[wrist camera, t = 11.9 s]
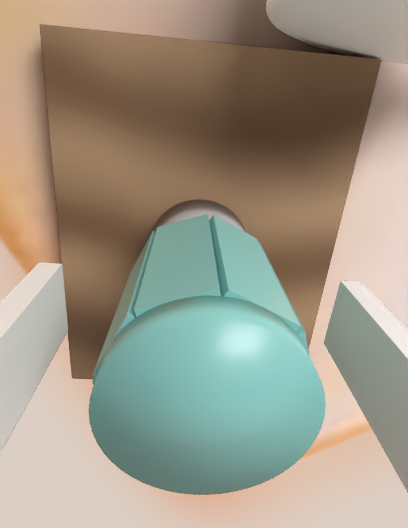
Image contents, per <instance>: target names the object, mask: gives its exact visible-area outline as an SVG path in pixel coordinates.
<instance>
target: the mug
mask: <svg viewBox="0 0 408 528" xmlns="http://www.w3.org/2000/svg"><path fill="white" fill-rule="evenodd" d="M266 12H267V15H268V18H269V19H270V21H271V22H272V23H273V25H274V26H276V27H277V28H278V29H279V30H281V31H282V32H284V33H285V34H287V35H289V36H291V37H293V38H295V39H297V40H299V41H302V42H304V43H307V44H310V45H312V46H315V47H319V48H322V49H325V50H329V51H333V52H337V53H341V54H345V55H350V56H355V57H362V58H372V59H381V61H387V62H396V63H408V0H267V3H266Z"/></svg>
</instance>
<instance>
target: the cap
mask: <svg viewBox="0 0 408 528" xmlns="http://www.w3.org/2000/svg"><path fill="white" fill-rule="evenodd" d="M93 376H94V379H93V384H94V387H93V390H92V394H91V397H90V404H89V418H90V425H91V428H92V432H93V435H94V437H95V439H96V441H97V443H98V445H99V446H100V448H101V449H102V451H103V452H104V454H105V455H106V456H107V457H108V458H109V459H110V460H111V461H112V462H113V463H114V464H115V465H116V466H117V467H118V468H120V469H121V470H122V471H124V472H125V473H127V474H128V475H130V476H131V477H133V478H135V479H137V480H139V481H141V482H143V483H145V484H148V485H151V486H153V487H156V488H159V489H163V490H167V491H171V492H177V493H184V494H194V495H195V494H197V495H209V494H222V493H228V492H234V491H238V490H242V489H246V488H250V487H253V486H255V485H258V484H261V483H263V482H265V481H268V480H270V479H272V478H274V477H275V476H277V475H279V474H281V473H282V472H284V471H285V470H287V469H288V468H289V467H291V466H292V465H293V464H295V463H296V462H297V461H298V460H299V459H300V458H301V457H302V456H303V455H304V454H305V453H306V452H307V450H308V449H309V448H310V447H311V445H312V444H313V442H314V441H315V439H316V438H317V435H318V433H319V431H320V429H321V426H322V423H323V419H324V415H325V393H324V389H323V385H322V382H321V380H320V377H319V375H318V373H317V371H316V369H315V367H314V365H313V362H312V360H311V358H310V356H309V351H308V345H307V340H306V334H305V331H304V329H303V327H302V325H301V323H300V321H299V319H298V317H297V315H296V313H295V311H294V309H293V307H292V305H291V303H290V301H289V299H288V297H287V295H286V293H285V291H284V289H283V287H282V285H281V283H280V281H279V279H278V277H277V275H276V273H275V271H274V269H273V267H272V265H271V263H270V261H269V259H268V257H267V255H266V253H265V251H264V249H263V248H262V246H261V244H260V243H259V242H258V240H257V238H255V237H253V236H251V235H249V234H248V233H246V232H244V231H242V230H241V229H239V228H237V227H235V226H233V225H232V224H230V223H228V222H226V221H224V220H223V219H221V218H219V217H217V216H215V215H214V214H213V216H212V217H211V219H210V221H209V217H208V214H205V215H201V216H197V217H194V218H190V219H186V220H182V221H179V222H175V223H171V224H167V225H164V226H160V227H157V230H156V232H155V231H153V232H152V233H151V235H150V237H149V239H148V241H147V243H146V244H145V246H144V248H143V250H142V252H141V254H140V255H139V257H138V259H137V261H136V263H135V265H134V266H133V268H132V270H131V272H130V275H129V278H128V280H127V283H126V286H125V288H124V291H123V294H122V297H121V299H120V302H119V305H118V307H117V310H116V313H115V316H114V318H113V321H112V324H111V326H110V329H109V332H108V334H107V337H106V340H105V343H104V345H103V348H102V351H101V353H100V356H99V359H98V362H97V364H96V367H95V370H94V372H93Z"/></svg>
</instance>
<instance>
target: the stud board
mask: <svg viewBox="0 0 408 528" xmlns="http://www.w3.org/2000/svg"><path fill="white" fill-rule="evenodd" d="M40 34H41V45H42V56H43V67H44V78H45V89H46V99H47V110H48V121H49V132H50V143H51V154H52V165H53V176H54V187H55V198H56V209H57V220H58V230H59V241H60V252H61V263H62V267H63V278H64V289H65V300H66V311H67V322H68V340H69V350H70V361H71V372H72V378H75V379H94V376H93V372H94V370H95V367H96V364H97V362H98V359H99V356H100V353H101V351H102V348H103V345H104V343H105V340H106V337H107V334H108V332H109V329H110V326H111V324H112V321H113V318H114V316H115V313H116V310H117V307H118V305H119V302H120V299H121V297H122V294H123V291H124V288H125V286H126V283H127V280H128V278H129V275H130V272H131V270H132V268H133V266H134V265H135V263H136V261H137V259H138V257H139V255H140V254H141V252H142V250H143V248H144V246H145V244H146V243H147V241H148V239H149V237H150V235H151V233H152V232H153V231H155V232H156V230H157V227H160V226H164V225H167V224H171V223H175V222H179V221H182V220H186V219H190V218H194V217H197V216H201V215H205V214H208V217H209V221H210V219H211V217H212V216H213V214H214V215H215V216H217V217H219V218H221V219H223V220H224V221H226V222H228V223H230V224H232V225H233V226H235V227H237V228H239V229H241V230H242V231H244V232H246V233H248V234H249V235H251V236H253V237H255V238H257V240H258V242H259V243H260V244H261V246H262V248H263V249H264V251H265V253H266V255H267V257H268V259H269V261H270V263H271V265H272V267H273V269H274V271H275V273H276V275H277V277H278V279H279V281H280V283H281V285H282V287H283V289H284V291H285V293H286V295H287V297H288V299H289V301H290V303H291V305H292V307H293V309H294V311H295V313H296V315H297V317H298V319H299V321H300V323H301V325H302V327H303V329H304V331H305V334H306V340H307V345H308V349H309V345H310V341H311V337H312V333H313V329H314V325H315V321H316V317H317V313H318V309H319V305H320V301H321V297H322V293H323V289H324V285H325V281H326V277H327V273H328V269H329V265H330V261H331V257H332V253H333V249H334V245H335V241H336V237H337V233H338V229H339V225H340V222H341V218H342V214H343V210H344V206H345V202H346V198H347V194H348V190H349V186H350V182H351V178H352V174H353V170H354V166H355V162H356V158H357V154H358V150H359V146H360V142H361V138H362V134H363V130H364V126H365V122H366V118H367V114H368V110H369V106H370V102H371V98H372V94H373V90H374V86H375V83H376V79H377V75H378V71H379V67H380V63H381V59H372V58H362V57H352V56H342V55H333V54H323V53H313V52H304V51H294V50H284V49H275V48H265V47H255V46H245V45H236V44H226V43H216V42H207V41H197V40H187V39H177V38H168V37H158V36H148V35H139V34H129V33H119V32H110V31H100V30H90V29H80V28H71V27H61V26H51V25H42V24H40Z"/></svg>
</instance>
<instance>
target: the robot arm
mask: <svg viewBox="0 0 408 528" xmlns="http://www.w3.org/2000/svg"><path fill="white" fill-rule="evenodd" d="M67 332H68V322H67V311H66V300H65V289H64V278H63V267H62V264H57V263H41V262H39V263H38V264H37V265H36V266H35V267H34V268H33V269H32V270H31V271H30V273H29V274H28V275H27V276H26V277H25V278H24V279H23V280H22V281H21V282H20V283H19V284H18V285H17V286H16V287H15V288H14V289H13V290H12V291H11V292H10V293H9V294H8V295H7V296H6V297H5V298H4V299H3V300H2V301H1V302H0V453H1V451H2V450H3V448H4V446H5V444H6V442H7V440H8V439H9V437H10V435H11V433H12V431H13V430H14V428H15V426H16V424H17V422H18V421H19V419H20V417H21V415H22V413H23V411H24V410H25V408H26V406H27V404H28V402H29V400H30V399H31V397H32V395H33V393H34V392H35V390H36V388H37V386H38V384H39V382H40V380H41V379H42V377H43V375H44V373H45V372H46V370H47V368H48V366H49V364H50V363H51V361H52V359H53V357H54V355H55V353H56V352H57V350H58V348H59V346H60V344H61V343H62V341H63V339H64V337H65V335H66V334H67ZM324 344H325V346H326V348H327V349H328V351H329V353H330V355H331V357H332V358H333V360H334V362H335V364H336V365H337V367H338V369H339V371H340V373H341V374H342V376H343V378H344V380H345V382H346V383H347V385H348V387H349V389H350V390H351V392H352V394H353V396H354V398H355V399H356V401H357V403H358V405H359V406H360V408H361V410H362V412H363V414H364V415H365V417H366V419H367V421H368V422H369V424H370V426H371V428H372V430H373V431H374V433H375V435H376V436H377V439H378V440H379V442H380V444H381V445H382V447H383V449H384V451H385V453H386V455H387V456H388V458H389V460H390V462H391V463H392V465H393V467H394V469H395V471H396V472H397V474H398V476H399V478H400V479H401V481H402V483H403V485H404V487H405V488H406V490H407V492H408V330H407V329H406V328H405V327H404V326H403V325H402V323H401V322H400V321H399V320H398V319H397V318H396V317H395V316H394V315H393V314H392V313H391V312H390V311H389V310H388V309H387V308H386V307H385V306H384V305H383V304H382V303H381V302H380V301H379V300H378V299H377V298H376V297H375V296H374V295H373V294H372V293H371V292H370V291H369V289H368V288H367V287H366V286H365V285H364V284H363V283H362V282H354V281H341V282H340V285H339V289H338V293H337V296H336V300H335V304H334V307H333V311H332V315H331V318H330V322H329V326H328V329H327V333H326V337H325V340H324Z"/></svg>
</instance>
